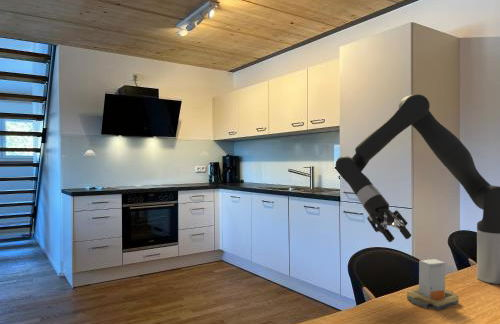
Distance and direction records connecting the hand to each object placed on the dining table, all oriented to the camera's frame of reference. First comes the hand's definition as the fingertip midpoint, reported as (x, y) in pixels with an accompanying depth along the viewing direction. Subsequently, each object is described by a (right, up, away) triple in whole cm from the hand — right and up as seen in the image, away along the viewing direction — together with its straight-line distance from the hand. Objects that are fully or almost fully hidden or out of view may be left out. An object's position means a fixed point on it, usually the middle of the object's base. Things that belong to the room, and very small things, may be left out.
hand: (400, 239), depth 118 cm
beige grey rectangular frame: (+6, -17, -9) cm, 20 cm away
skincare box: (+6, -17, -9) cm, 20 cm away
